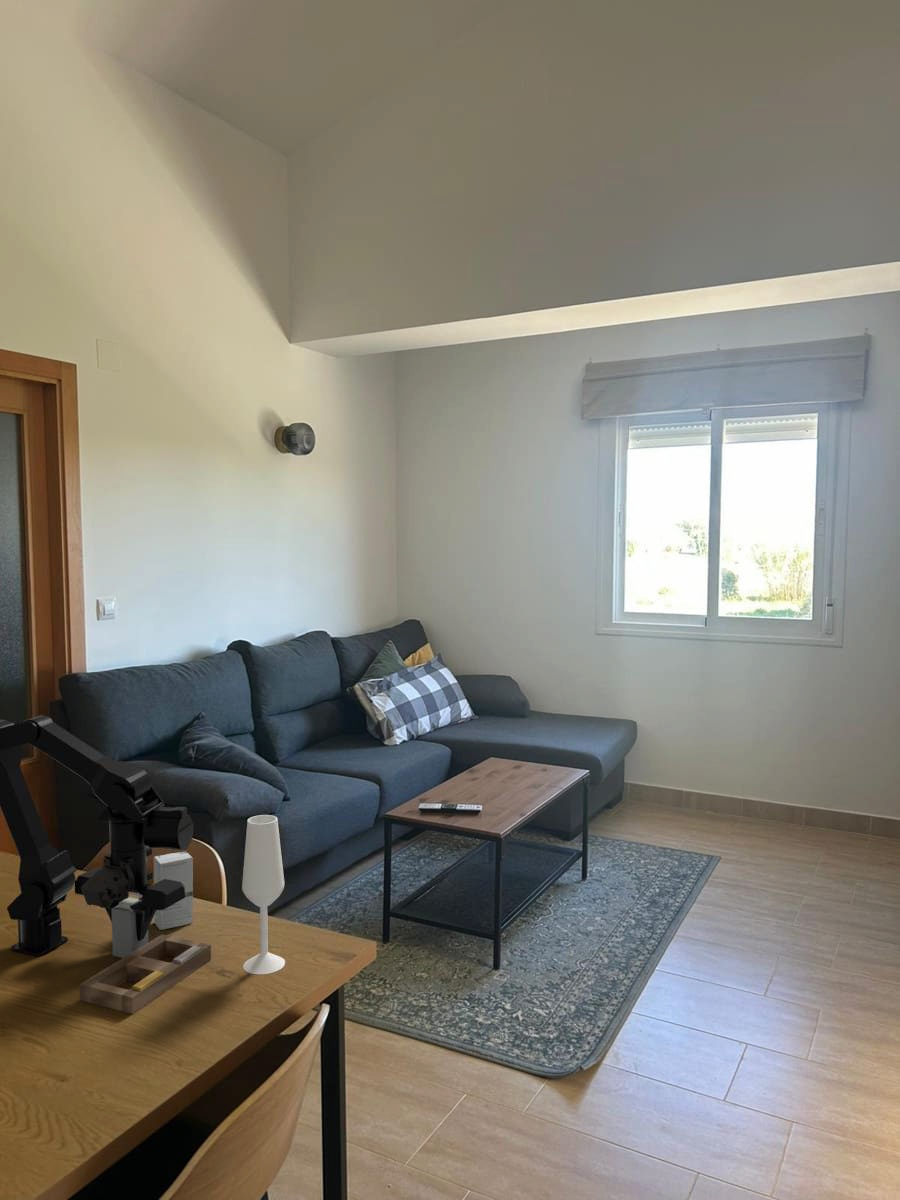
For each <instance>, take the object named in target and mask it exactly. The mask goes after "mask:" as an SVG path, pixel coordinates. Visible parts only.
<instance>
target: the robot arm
mask: <svg viewBox="0 0 900 1200" xmlns="http://www.w3.org/2000/svg"><path fill="white" fill-rule="evenodd" d="M25 744H29V745H32V746H33V747H35V748H37V749H38V750H39V751H40V752H43V753H44V754H45V755H47V756H49V757H50V758H52V759H53V760H55V761H56V762H57V763H59V764H61V766H64V767H65V768H67V769H68V770H70V771H71V772H72V773H74V774H76V776H77V775H78V776H79V777H81V778H82V779H84V780H85V781H86V782H87V783H88V785H90V787H91V790H92V791H93V794H94V795H95V796H96V797H97V798H98V799H99V801H101V802H102V803H103V804H104V805H106V806H105V808H104V809H103V811H101V812H100V813H99V814H98V815H97V816H96V819H95V820H96V821H98V822H108V823H109V824H108V825H109V826H108V827H109V853H107V854H106V855H104V858H103V863H102V867H101V866H96V867H94V868H92V869H90V870H87V871H86V872H83V873H81V874H79V875H78V876H77V878H76V875H75V873H76V872H77V870H78V869H76V867H75V866H74V864H73V862H72V860H71V855H70V853H69V851H68V850H67V849H65V850H63V851H62V852H60V851H58V850H57V849H56V848H55V847H53V846H52V844H51V843H50V841H49V837H48V835H47V833H46V829H45V827H44V824H43V823H42V820H41V817H40V814H39V812H38V809H37V807H36V805H35V802H34V798H33V796H32V794H31V792H30V790H29V787H28V784H27V781H26V779H25V777H24V774H23V771H22V768H21V763H22V758H23V757H22V755H23V745H25ZM141 801H143V803H142V804H140V805H137V804H138V803H139V802H141ZM0 810H1V813H2V816H3V818H4V820H5V823H6V826H7V828H8V830H9V834H10V836H11V838H12V841H13V843H14V844H13V845H14V846H15V849H16V851H17V854H18V856H19V860H20V861H19V867H18V877H17V880H18V884H19V890H20V893H19V895H18V896H17V897H16V898H15V899H14V900H13V901H12V902H10V904H9V905H8V906H7V907H6V909H7V913H8V916H9V918H10V920H12V921H13V920H14V921H15V920H16V921H17V935H18V937H17V939H18V941H17V943H14V944H13V945H12V944H11V946H10V950H11V951H14V952H15V951H16V952H19V953H23V954H28V955H33V956H37V957H38V956H39V957H40V956H41V955H43V954H45V953H48V952H50V951H51V950H53V949H54V948H57V947H59V946H60V945H62V944H64V943H66V942H68V940H69V937H68V936H64V935H63V934H62V933H63V932H62V928H63V927H62V918H61V909H60V908H59V907H58V905H60V904H62V903H63V902H65V901H66V899H67V897H68V894H69V893H70V892H71V890H72V889H73V888H74V894H76V895H81V896H83V897H84V900H85V902H86V905H88V906H97V907H99V908H102V909H105V911H106V913H107V915H108V917H109V919H110V921H111V922H110V923H112V908H114V907H115V906H117V905H119V902H121V901H123V900H125V899H127V898H129V897H130V895H136V896H138V898H137V899H138V902H137V903H135V904H134V905H132V906H130V908H131V909H132V910H133V911H134V912H135V914H136V933H137V939H138V941H141V940H143V939H144V937H145V935H146V933H147V930H148V931H149V928H150V925H151V923H152V921H153V920H154V914H155V912H156V911H157V910H164V909H166V908H168V907H170V906H171V905H173V904H175V903H177V902H178V901H180V900H182V899H184V898H185V887H184V885H183V884H182V883H181V882H179V881H173V880H168V879H163V880H161V881H159V882H157V883H156V884H154V883H153V884H149V883H148V881H151V879H154V874H153V872H151V871H148V857H150V856H152V855H153V849H158V850H175V851H185V850H187V849H188V848H189V847H190V845H191V842H192V840H193V836H194V835H193V834H194V822H193V821H192V818H191V816H190V814H188V808H187V806H176V807H169V806H168V807H167V806H165V801H164V800H163V799H162V797H161V795H160V794H159V793H158V792H157V790H156V789H155V787H154V786H153V785H152V783H151V780H150V775H149V774H148V772H146V771H145V770H144V769H142V768H140V767H139V766H136V765H133V764H131V763H129V762H126V761H123V760H122V761H121V760H116V759H113V758H110V757H108V756H106V755H104V754H102V753H101V752H100V751H98V750H97V749H94V748H93V747H91V746H90V745H89V744H87V742H84V741H82V740H81V739H79V738H78V737H76V736H75V735H73V734H72V733H70V732H69V731H67V730H66V729H65V728H63V727H61V726H59V724H57V723H55V722H54V720H53V719H52V718H51V717H49V716H47V715H42V714H41V715H37V716H35V717H31V718H29V719H23V720H20V721H14V722H11V721H8V720H5V719H0ZM147 846H148V847H147Z"/></svg>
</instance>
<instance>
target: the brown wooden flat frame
mask: <svg viewBox="0 0 900 1200" xmlns="http://www.w3.org/2000/svg"><path fill="white" fill-rule="evenodd" d="M165 956H169V957H174V958H173V959H172V961H170V962H168V961H164V960H160V959H162V958H163V957H165ZM211 960H212V945H211V944H210V943H203V942H201V941H194V940H191V939H184V938H181V937H176V936H171V935H167V934H160V935H158V936H157V937H156V938H153V939H152V940H151V941H149V943H147V944H145V945H144V946H142V947H140V948H139V949H137V950H135V951H134V952H132V953H130V954H129V955H127V956H126V957H124V958H121V959H119V960H118V961H116V962H114V963H112V964H111V965H109V966H108V967H105V968H104V969H102V970H101V971H99V972H97V973H96V974H95V975H93V976H91V977H89V978H88V979H86V980H84V981H83V982H81V983H80V984H79V996H80V997H79V1000H80V1001H81V1002H85V1003H87V1004H88V1003H89V1004H93V1005H96V1006H101V1007H104V1008H108V1009H111V1010H115V1011H119V1012H123V1013H127V1014H129V1015H130V1014H131V1015H135V1013H137V1012H139V1011H140V1010H141V1009H143V1008H144V1007H145V1006H148V1004H149V1003H152V1001H154V1000H155V999H157V998H158V997H160V996H161V995H162V994H164V993H166V992H167V991H169V989H172V988H173V987H174V986H176V985H177V984H178V983H179V982H181V981H183V980H184V979H185V978H187V977H188V976H190V975H191V974H193V973H194V972H196V971H197V970H199V969H200V968H201V967H203V966H204V965H206V964H207V963H209V961H211ZM126 981H130V982H133V983H134V982H135V984H133V985H132V987H131V988H130V989H126V988H123V987H118V986H120V985H121V984H123V983H124V982H126Z"/></svg>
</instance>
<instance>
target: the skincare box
mask: <svg viewBox="0 0 900 1200" xmlns="http://www.w3.org/2000/svg"><path fill="white" fill-rule="evenodd" d="M193 858H194V857H192V856H191V855H190V854H189V853H188V852H187V851H185V850H184V851H180V852H174V853H166V854H163V855H162V854H161V855H155V856H153V884H156V883H157V882H159V881H161V880H163V879H168V880H173V881H179V882H181V883H182V884H183V885H184V887H185V898H184V899H182V900H180V901H178V902H177V903H175V904H173V905H171V906H170V907H168V908H166V909H164V910H157V911H156V912H155V914H154V917H153V922H154V923H155V925H156V927H157V928H158V930H159V931H161V930H162V931H163V930H167V929H171V928H177V927H182V926H185V925H186V926H187V925H190V924H192V923H193V922H194V896H193V895H194V894H193V893H194V887H193V886H194V883H193V882H194V878H193V876H194V875H193V873H194V872H193V871H194V866H193V865H194V863H193V862H194V859H193Z"/></svg>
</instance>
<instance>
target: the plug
mask: <svg viewBox="0 0 900 1200" xmlns="http://www.w3.org/2000/svg"><path fill="white" fill-rule="evenodd" d="M138 899H139V898H133V897H130V896H129V897H128V898H127V899H125V900H123V901H121V902H119V905H117V906H115V907H114V908H112V922H111V936H112V937H111V938H112V940H111V941H112V945H111V946H112V956H114V957H118V958H121V959H122V958H124V957H126V956H127V955H129V954H130V953H132V952H134V951H135V950H137V949H139V948H140V947H142V946H144V945H145V944H147V943H149V942H150V941H149V929H148V930H147V933H146V935H145V937H144V939H143V940H141V941H138V939H137V933H136V914H135V912H134V911H133V910H132V909H131V908H130V906H132V905H134V904H135V903H137V902H138Z"/></svg>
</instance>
